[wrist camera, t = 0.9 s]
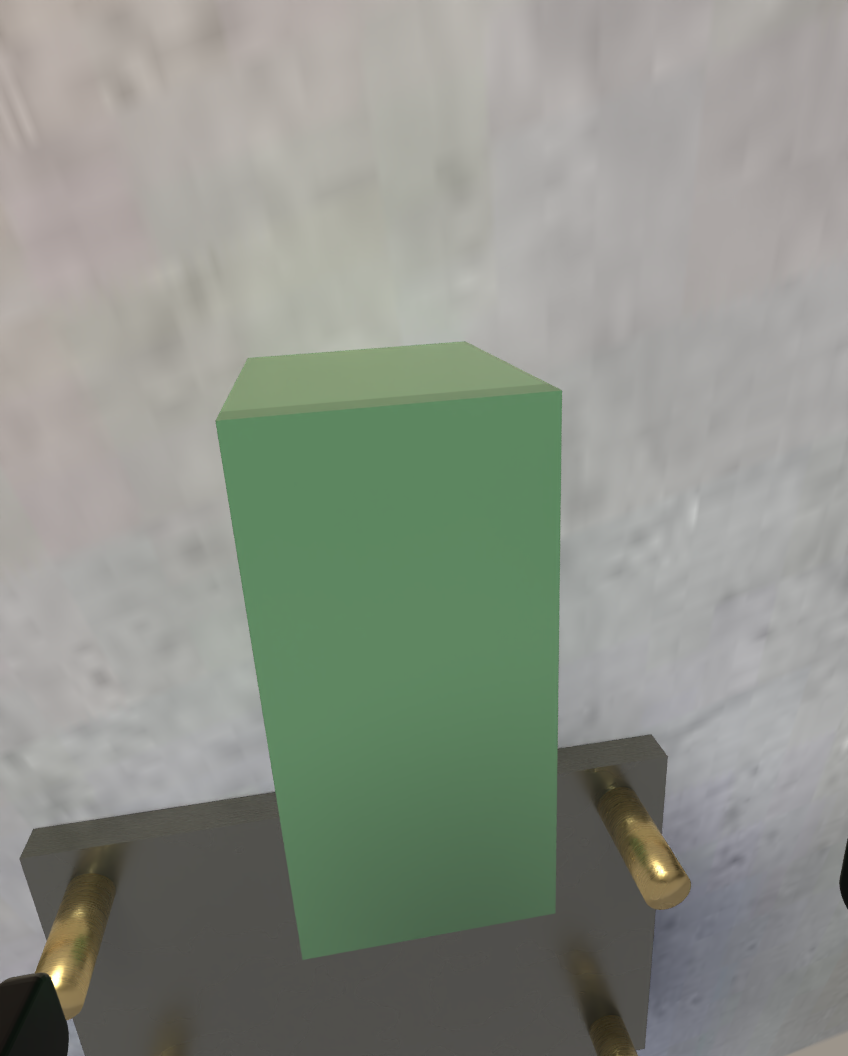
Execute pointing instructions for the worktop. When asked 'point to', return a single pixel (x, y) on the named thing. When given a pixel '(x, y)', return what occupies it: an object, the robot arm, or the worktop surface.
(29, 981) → the robot arm
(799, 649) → the worktop surface
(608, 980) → the chassis plate
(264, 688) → the green rectangular block
